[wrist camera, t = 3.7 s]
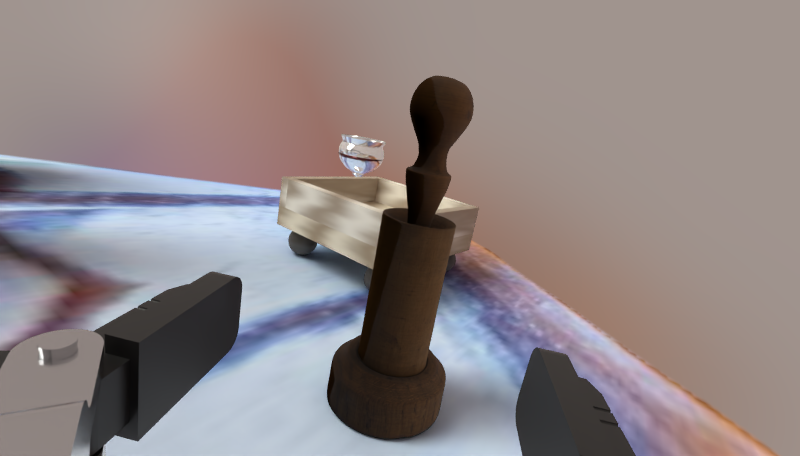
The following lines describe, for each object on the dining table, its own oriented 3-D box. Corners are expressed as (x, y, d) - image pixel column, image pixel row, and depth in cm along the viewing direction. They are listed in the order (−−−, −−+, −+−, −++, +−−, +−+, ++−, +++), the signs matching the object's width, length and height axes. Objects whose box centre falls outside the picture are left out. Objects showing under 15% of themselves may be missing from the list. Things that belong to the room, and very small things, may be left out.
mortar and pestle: (409, 359, 28) (467, 91, 23) (459, 429, 22) (549, 93, 18) (315, 370, 25) (360, 64, 20) (345, 452, 19) (417, 57, 15)
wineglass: (381, 222, 62) (395, 144, 59) (342, 223, 58) (354, 139, 55) (359, 210, 67) (371, 138, 64) (322, 209, 63) (332, 132, 60)
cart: (274, 250, 43) (282, 176, 41) (367, 234, 55) (377, 176, 53) (380, 307, 34) (396, 219, 32) (463, 274, 46) (479, 207, 44)
